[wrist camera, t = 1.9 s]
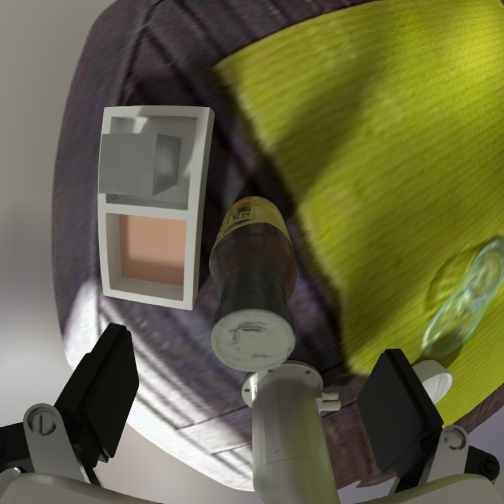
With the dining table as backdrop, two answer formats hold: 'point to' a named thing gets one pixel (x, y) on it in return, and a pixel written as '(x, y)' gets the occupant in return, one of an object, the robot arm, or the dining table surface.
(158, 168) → the grey metal block
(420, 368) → the ramekin
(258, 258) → the sauce bottle
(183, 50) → the dining table surface
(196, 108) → the divided bay tray
